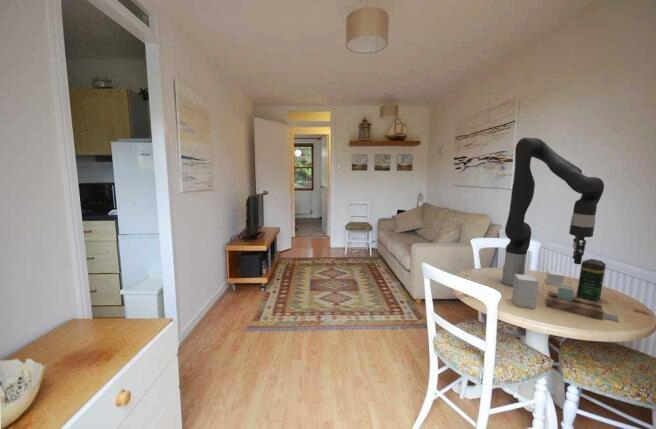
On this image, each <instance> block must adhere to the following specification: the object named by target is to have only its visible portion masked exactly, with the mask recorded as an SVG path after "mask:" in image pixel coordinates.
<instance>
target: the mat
mask: <svg viewBox="0 0 656 429" xmlns="http://www.w3.org/2000/svg"><path fill="white" fill-rule="evenodd" d="M603 320H608V321H611V322H616V323H620V320H619V317H618V315H613V314H609V313H605V312H604V314H603Z"/></svg>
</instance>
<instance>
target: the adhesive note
mask: <svg viewBox="0 0 656 429" xmlns="http://www.w3.org/2000/svg"><path fill="white" fill-rule="evenodd" d="M546 271H547V272H546V279H545V282H546V283H547V285H549V286H554V287H555V286H556V287H559V284H562V285H564V277H565V275H564V274H563V273H562V272H560V271H552V270H546Z"/></svg>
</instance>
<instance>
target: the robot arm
mask: <svg viewBox="0 0 656 429" xmlns="http://www.w3.org/2000/svg"><path fill="white" fill-rule="evenodd" d="M532 158H535V159H536V160H539V161H541V162H543V163H544V164H545V165H546V166H547V168H548V169H549V171H551V173H553V174H554V175H556V176H557V177H558V178H560V179H561V180H563V181H565V183H566V184H567V185H568V186H569V188H571V190H573V192H575V193H577V194H581V196H580V198H579V199H577V200H575V202H574V205H573V211H572V212H573V213H572V216H571V219H570V226H569V232H568V233H569V235H571V236H574V237H575V238H573V239H572V241H573V243H572V249H573V252H572V253H573V254H572V259H573V264H575V265H582V259H583V256H584V255H585V254H584V252H585V251H586V245H587V240H586V239H585V238H592V237H593V236H594V231H595V224H596V214H597V207H598V206H597V205H598V203H599V201H600V200H601V197H602V196H603V193H604V191H605V190H604V189H605V183H604V181H603V179H601V178H600V177H598V176H597V177H595V176H587V175H585V174H583V173H582V172H583V171H582V169H581V168H580V167H578V166H576V165H575V164H574V163H572V162H570V161H569V160H567V159H565V158H564V157H562V156H561V155H560V154H558V153H557V152H555V151H554V150H553V149H552V148H551V147H550V146H549V145H548V144H547V143H546V142H545V141H544V140H542V139H540V138H536V137H523V138H520V139H519V140H518V142H517V144H516V146H515V152H514V172H513V173H514V174H513V182H512V186H511V187H512V188H511V195H510V196H511V198H510V202H509V203H510V205H509V211H508V217H507V219H506V220H507V221H506V224H505V228H504V234H505V236H506V237H507V238H508V239H509V243H508V244H506V246H505V255H504V263H503V264H504V265H503V268H502V275H501V276H502V277H501V284H505V285H507V286H509V287H513V284H514V274H521V275H525V270H526V265H527V264H526V262H527V256H528V255H527V254H528V250H529V248H530V245H531V238H532V229H531V226H530V224H529V223H527V222H525V218H526V213H527V211H528V208H529V207H530V205H531V203H532V201H533V200H534V194H535V186H536V183H535V179H534V176H533V173H532V170H531V161H532Z"/></svg>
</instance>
